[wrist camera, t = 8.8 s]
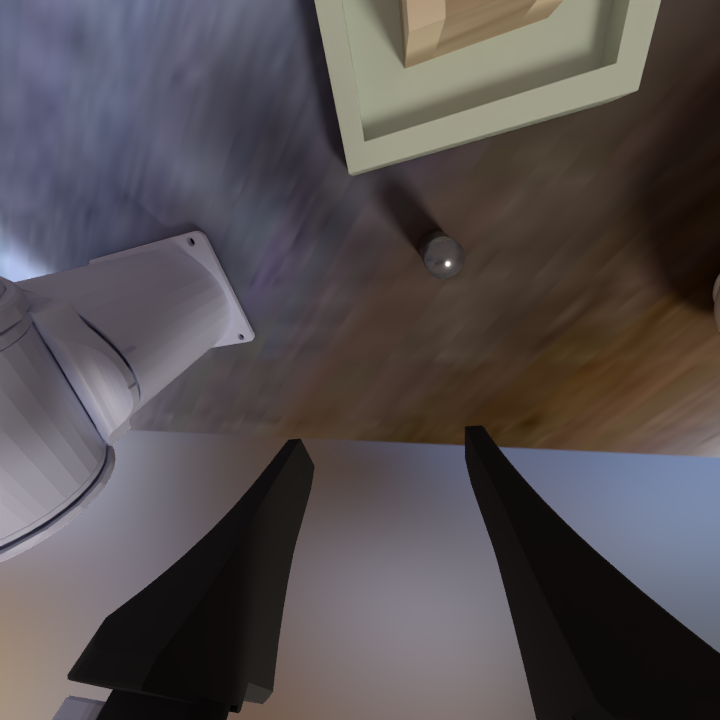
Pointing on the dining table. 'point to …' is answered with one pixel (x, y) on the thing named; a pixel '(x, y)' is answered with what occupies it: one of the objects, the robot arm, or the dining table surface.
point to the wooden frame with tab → (462, 23)
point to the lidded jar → (717, 301)
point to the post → (441, 254)
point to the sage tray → (474, 76)
